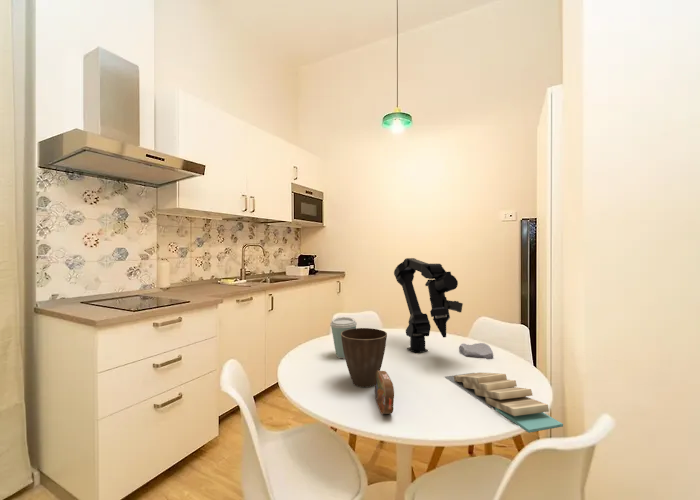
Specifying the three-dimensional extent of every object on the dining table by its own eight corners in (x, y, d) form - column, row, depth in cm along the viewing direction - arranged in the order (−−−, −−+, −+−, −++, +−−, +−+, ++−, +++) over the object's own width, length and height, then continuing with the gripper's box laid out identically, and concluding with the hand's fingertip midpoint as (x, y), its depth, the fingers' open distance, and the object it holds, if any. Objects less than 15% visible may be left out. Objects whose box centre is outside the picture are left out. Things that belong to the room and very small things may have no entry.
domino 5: (495, 407, 83) (528, 429, 72) (526, 402, 86) (563, 423, 75) (495, 413, 83) (528, 436, 72) (526, 408, 86) (563, 430, 75)
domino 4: (485, 396, 87) (513, 409, 76) (516, 393, 89) (548, 404, 78) (485, 402, 87) (514, 416, 76) (517, 399, 89) (548, 411, 78)
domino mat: (443, 377, 105) (443, 376, 105) (474, 373, 108) (474, 372, 108) (490, 409, 84) (490, 408, 84) (526, 403, 87) (526, 401, 87)
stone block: (495, 364, 123) (486, 351, 133) (496, 352, 122) (487, 340, 132) (465, 364, 124) (458, 351, 134) (465, 353, 123) (458, 341, 133)
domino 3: (474, 389, 92) (498, 392, 82) (503, 385, 94) (531, 389, 84) (475, 395, 91) (500, 399, 81) (504, 391, 93) (532, 395, 83)
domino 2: (462, 382, 97) (486, 384, 87) (489, 378, 100) (515, 380, 90) (463, 387, 96) (487, 390, 86) (490, 383, 99) (516, 386, 89)
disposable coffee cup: (356, 361, 121) (356, 322, 121) (329, 360, 121) (329, 322, 122) (356, 352, 132) (356, 316, 132) (331, 352, 132) (331, 316, 132)
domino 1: (453, 375, 101) (477, 377, 90) (479, 372, 104) (505, 373, 93) (454, 381, 101) (478, 383, 90) (480, 377, 104) (506, 379, 93)
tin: (373, 394, 93) (373, 365, 93) (384, 393, 94) (384, 365, 94) (383, 421, 78) (383, 387, 78) (395, 420, 78) (395, 387, 79)
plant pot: (331, 381, 102) (331, 332, 102) (365, 370, 112) (365, 325, 112) (362, 397, 91) (362, 342, 91) (396, 383, 100) (396, 333, 100)
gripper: (459, 288, 109) (468, 334, 104) (458, 295, 126) (466, 335, 121) (426, 293, 112) (434, 338, 107) (430, 299, 129) (437, 338, 124)
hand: (444, 337), depth 115 cm, fingers closed
